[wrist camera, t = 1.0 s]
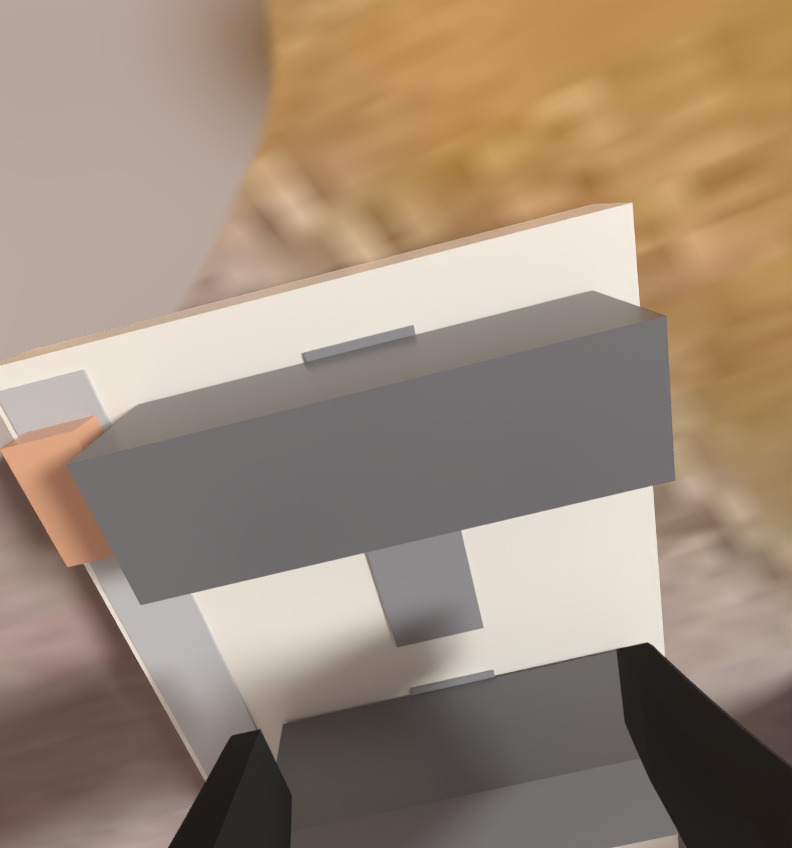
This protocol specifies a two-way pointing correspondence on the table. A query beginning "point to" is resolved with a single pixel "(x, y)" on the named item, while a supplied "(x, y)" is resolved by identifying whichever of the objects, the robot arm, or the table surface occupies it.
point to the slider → (384, 445)
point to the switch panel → (368, 572)
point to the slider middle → (476, 767)
